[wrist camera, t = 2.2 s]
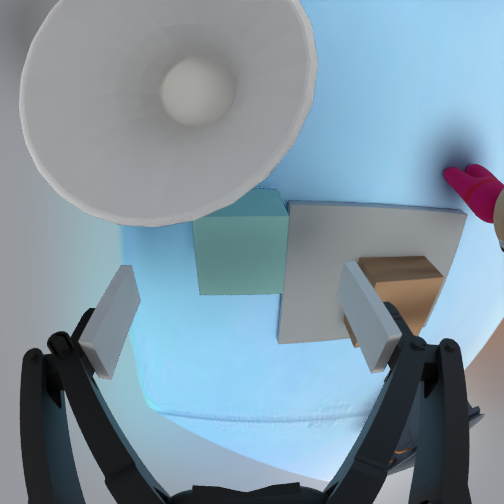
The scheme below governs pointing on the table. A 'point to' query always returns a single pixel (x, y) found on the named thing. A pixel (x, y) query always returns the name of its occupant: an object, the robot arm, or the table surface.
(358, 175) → the table surface
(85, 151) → the cup
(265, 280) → the teal brick
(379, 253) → the build plate
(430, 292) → the walnut brick
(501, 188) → the toy
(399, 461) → the storage bin
